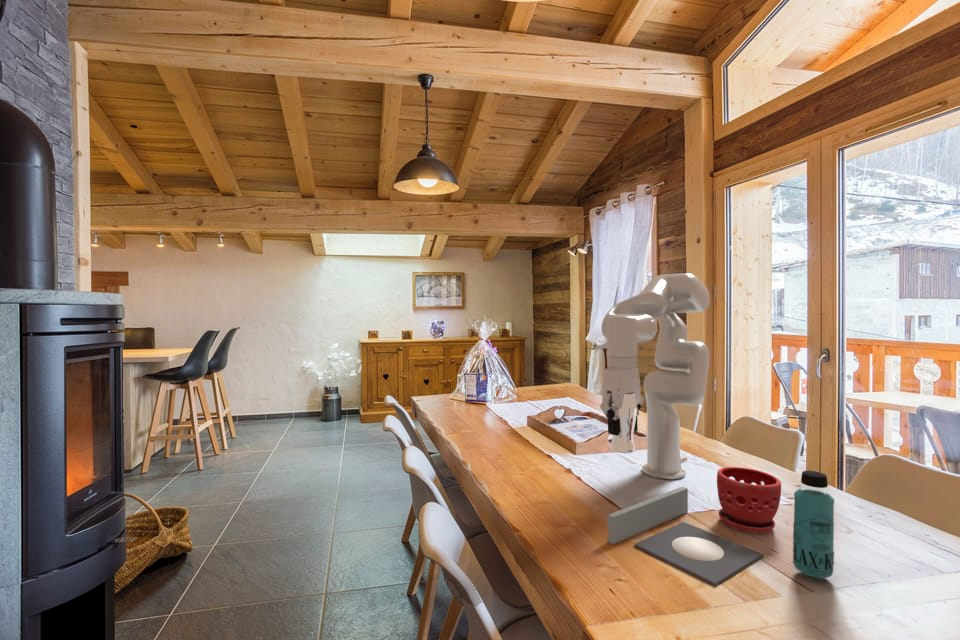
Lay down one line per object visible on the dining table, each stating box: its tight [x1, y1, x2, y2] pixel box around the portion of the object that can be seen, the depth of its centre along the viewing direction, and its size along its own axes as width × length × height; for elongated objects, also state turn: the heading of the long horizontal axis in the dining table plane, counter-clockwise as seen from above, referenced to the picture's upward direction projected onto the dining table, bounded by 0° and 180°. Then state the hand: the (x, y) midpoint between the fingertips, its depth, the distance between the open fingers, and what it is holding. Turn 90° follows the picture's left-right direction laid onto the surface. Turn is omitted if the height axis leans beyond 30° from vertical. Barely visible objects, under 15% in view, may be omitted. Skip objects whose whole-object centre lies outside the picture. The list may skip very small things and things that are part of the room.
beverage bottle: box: [792, 470, 835, 579], centre depth 90 cm, size 6×7×20 cm
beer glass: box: [610, 392, 638, 454], centre depth 122 cm, size 7×7×15 cm
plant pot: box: [716, 466, 782, 534], centre depth 111 cm, size 13×13×12 cm
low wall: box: [607, 486, 689, 545], centre depth 112 cm, size 28×2×6 cm, turn 124°
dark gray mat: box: [634, 521, 764, 587], centre depth 100 cm, size 18×18×1 cm
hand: (622, 431), depth 122 cm, fingers closed on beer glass, 6 cm apart
